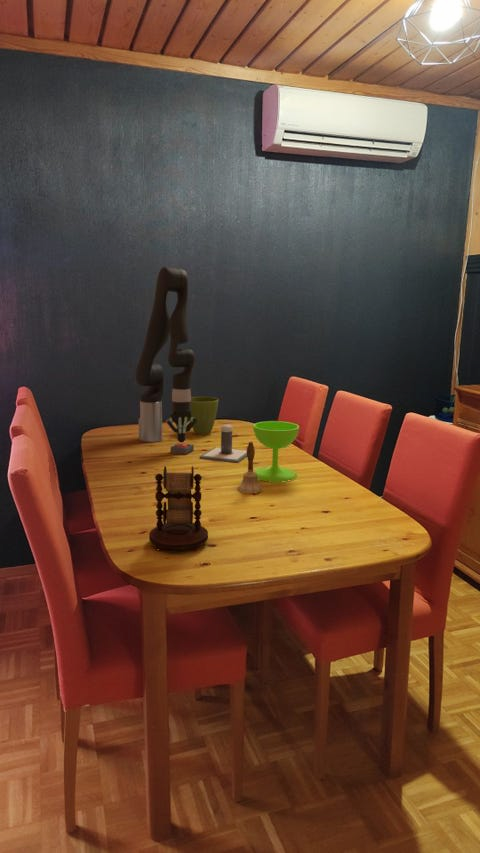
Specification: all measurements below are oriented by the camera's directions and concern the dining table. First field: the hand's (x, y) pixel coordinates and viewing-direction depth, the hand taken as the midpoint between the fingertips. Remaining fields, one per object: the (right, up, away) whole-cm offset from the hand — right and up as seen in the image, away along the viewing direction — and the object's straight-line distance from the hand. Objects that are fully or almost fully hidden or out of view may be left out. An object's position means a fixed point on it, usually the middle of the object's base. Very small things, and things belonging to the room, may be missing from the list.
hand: (181, 441), depth 234 cm
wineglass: (+36, -11, -29) cm, 48 cm away
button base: (0, -4, +1) cm, 4 cm away
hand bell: (+27, -15, -45) cm, 54 cm away
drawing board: (+18, -5, -4) cm, 19 cm away
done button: (0, -3, +1) cm, 4 cm away
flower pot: (+6, +3, +34) cm, 35 cm away
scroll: (+8, -23, -87) cm, 90 cm away
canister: (+18, -4, -4) cm, 19 cm away
